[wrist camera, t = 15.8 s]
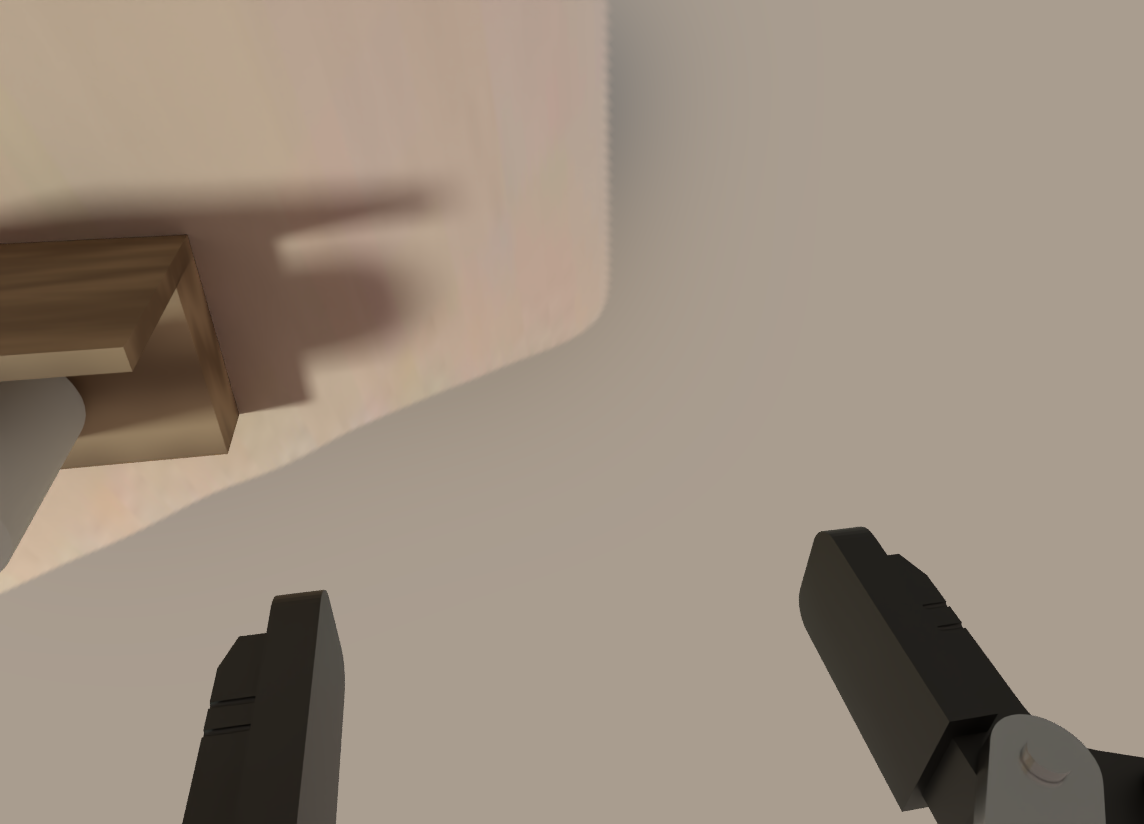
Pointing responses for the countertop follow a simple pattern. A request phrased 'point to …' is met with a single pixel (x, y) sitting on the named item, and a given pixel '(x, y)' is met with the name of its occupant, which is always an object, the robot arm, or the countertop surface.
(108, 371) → the walnut shelf
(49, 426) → the beverage can
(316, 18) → the countertop surface
